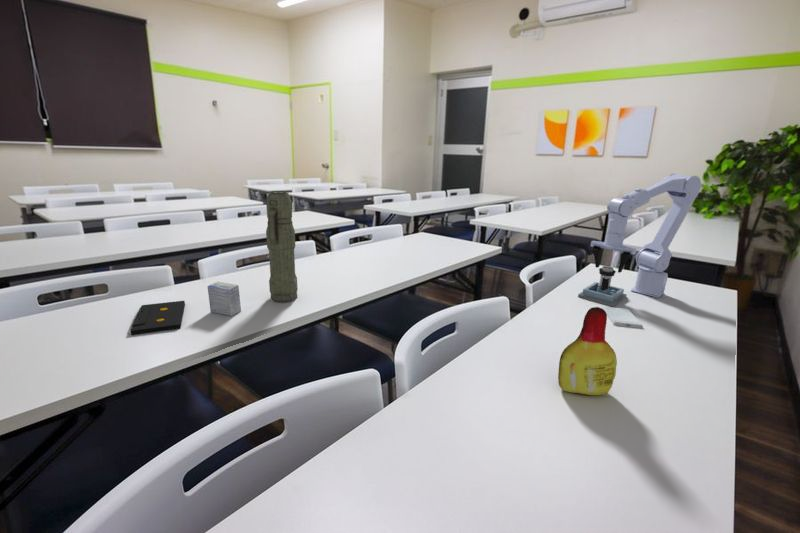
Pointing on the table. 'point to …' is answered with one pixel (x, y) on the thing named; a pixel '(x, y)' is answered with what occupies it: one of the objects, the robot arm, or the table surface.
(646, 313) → the table surface
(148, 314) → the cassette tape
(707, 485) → the table surface
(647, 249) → the robot arm
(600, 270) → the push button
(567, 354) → the bottle
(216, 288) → the grey layered block
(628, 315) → the hard drive
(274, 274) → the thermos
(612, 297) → the end holder
